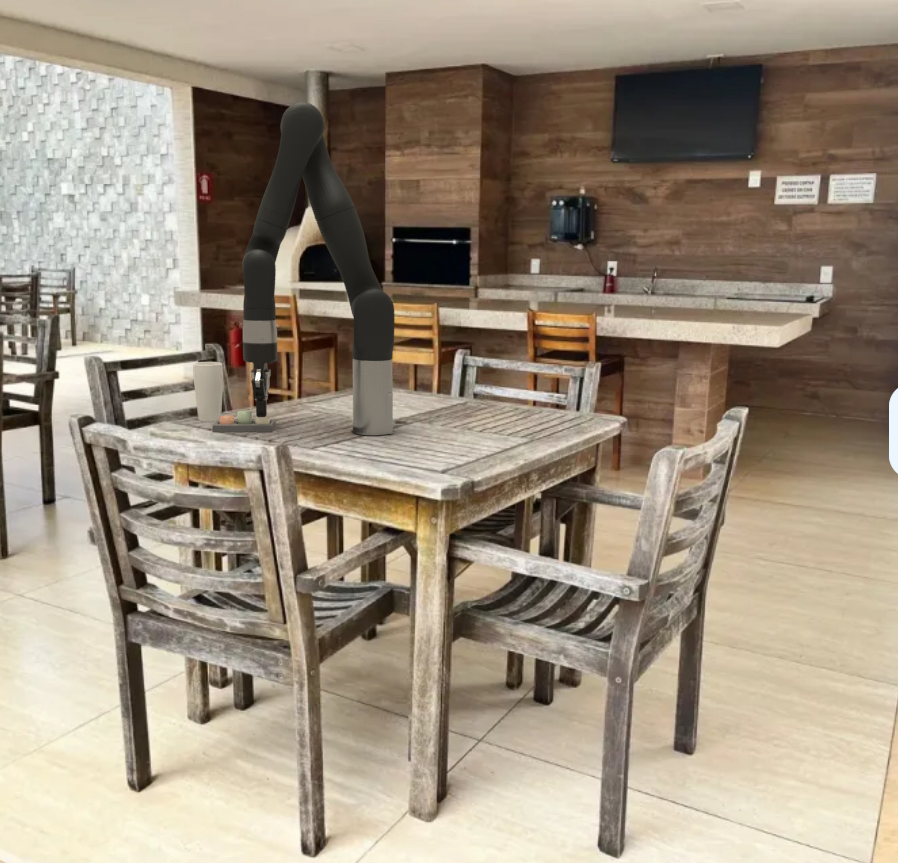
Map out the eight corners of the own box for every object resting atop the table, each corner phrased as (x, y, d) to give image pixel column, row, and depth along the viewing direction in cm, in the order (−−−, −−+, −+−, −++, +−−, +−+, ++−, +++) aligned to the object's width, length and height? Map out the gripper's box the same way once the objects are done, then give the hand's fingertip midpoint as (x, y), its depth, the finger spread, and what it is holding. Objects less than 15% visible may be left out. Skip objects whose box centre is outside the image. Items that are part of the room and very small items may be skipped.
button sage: (252, 427, 205) (252, 410, 204) (251, 430, 202) (250, 412, 201) (238, 427, 205) (238, 410, 204) (236, 430, 201) (236, 412, 201)
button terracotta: (235, 432, 205) (234, 415, 204) (233, 435, 202) (232, 417, 201) (221, 432, 204) (220, 415, 204) (218, 435, 201) (218, 417, 201)
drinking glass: (195, 428, 211) (192, 365, 208) (195, 423, 217) (193, 361, 214) (225, 427, 213) (222, 364, 210) (224, 422, 219) (222, 361, 216)
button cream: (270, 432, 205) (270, 415, 205) (269, 435, 202) (268, 417, 202) (256, 432, 205) (256, 415, 204) (254, 435, 202) (254, 417, 201)
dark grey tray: (275, 431, 208) (275, 419, 207) (272, 438, 200) (271, 425, 200) (218, 432, 207) (218, 419, 206) (212, 438, 199) (212, 425, 198)
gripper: (273, 343, 194) (275, 421, 197) (280, 338, 207) (281, 411, 210) (238, 342, 193) (240, 421, 196) (247, 337, 206) (248, 411, 209)
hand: (261, 416), depth 203 cm, fingers closed
